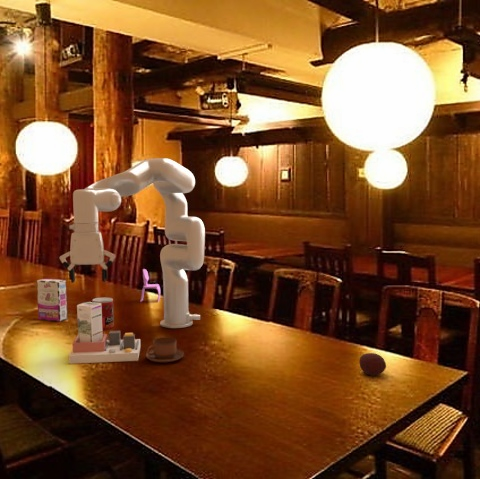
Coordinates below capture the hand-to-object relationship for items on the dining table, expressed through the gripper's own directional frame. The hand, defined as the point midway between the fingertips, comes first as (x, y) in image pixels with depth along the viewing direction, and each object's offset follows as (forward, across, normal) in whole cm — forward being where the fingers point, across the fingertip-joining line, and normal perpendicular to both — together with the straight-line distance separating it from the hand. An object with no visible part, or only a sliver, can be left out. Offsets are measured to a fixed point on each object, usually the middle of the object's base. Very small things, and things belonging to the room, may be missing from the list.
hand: (88, 281), depth 186 cm
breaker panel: (+24, +5, 0) cm, 25 cm away
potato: (+24, +84, -30) cm, 93 cm away
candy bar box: (+24, -22, +52) cm, 61 cm away
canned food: (+24, 0, +36) cm, 43 cm away
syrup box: (+22, 0, 0) cm, 22 cm away
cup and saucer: (+25, +24, -8) cm, 35 cm away
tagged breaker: (+22, +12, -2) cm, 25 cm away
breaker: (+22, +7, +3) cm, 23 cm away
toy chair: (+25, +16, +83) cm, 88 cm away
